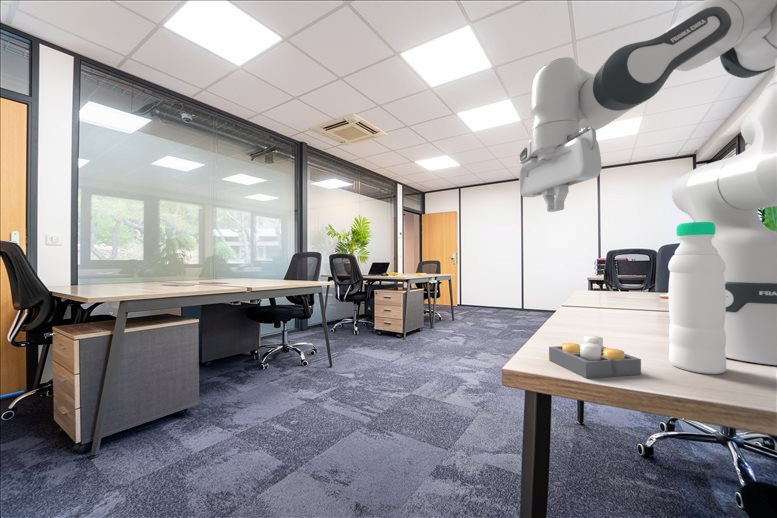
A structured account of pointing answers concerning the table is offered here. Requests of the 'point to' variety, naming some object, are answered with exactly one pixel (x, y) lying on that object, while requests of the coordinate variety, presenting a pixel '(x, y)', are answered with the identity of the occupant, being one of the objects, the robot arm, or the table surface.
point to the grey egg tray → (595, 364)
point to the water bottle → (697, 301)
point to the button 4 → (613, 353)
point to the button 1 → (571, 347)
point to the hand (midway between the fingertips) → (555, 211)
